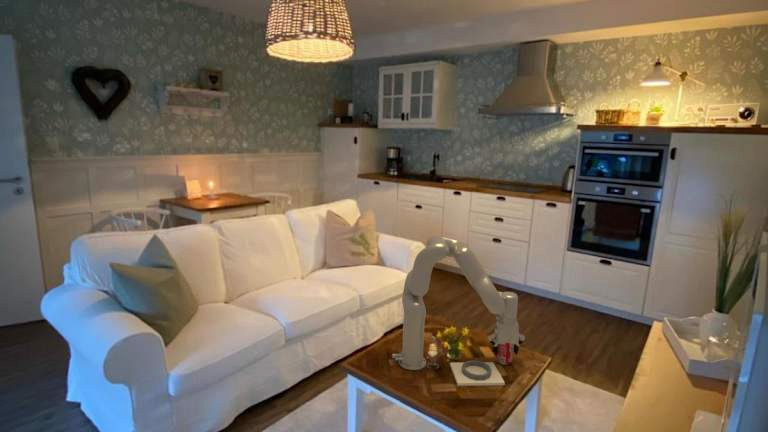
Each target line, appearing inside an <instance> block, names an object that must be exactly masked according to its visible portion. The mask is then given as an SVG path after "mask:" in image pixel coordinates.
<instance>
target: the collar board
mask: <svg viewBox="0 0 768 432" xmlns="http://www.w3.org/2000/svg"><path fill="white" fill-rule="evenodd" d="M449 366H450V370H451V372H452V374H453V378H454V380H455V382H456V384H457V386H458V387H460V386H461V387H463V386H469V387H470V386H472V387H474V386H476V387H477V386H479V387H480V386H482V387H483V386H505V381H504V378H503V376H502V375H501V373H500V372H499V370H498V369H497V367H496V365H495V363H494V362H493V361H485V362H484V361H481V360H480V361H479V360H473V359H472V360H467V361H463V362H449Z"/></svg>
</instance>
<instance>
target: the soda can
mask: <svg viewBox="0 0 768 432" xmlns="http://www.w3.org/2000/svg"><path fill="white" fill-rule="evenodd" d="M507 342H509V341H507ZM513 355H514V344H511V343H505V344H498V345H497V355H496V361H497V362H498V363H499V364H501V365H502V366H508V365H511V364H512V362H513Z"/></svg>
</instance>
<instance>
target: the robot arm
mask: <svg viewBox="0 0 768 432" xmlns="http://www.w3.org/2000/svg"><path fill="white" fill-rule="evenodd" d="M446 258H453V259H454V261H455V262H456V264H457V266H458V267H459V268H460V270H461V272H462V273H463V275H464V276H465V279H466V280H467V281H468V282H469V284H470V285H471V287H472V288H473V289H474V290H475V292H477V294H478V296H479V297H480V299H481V300H482V301H481V302H482V303H483V304H484V305H485V307H486V308H487V310H488V311H489V312H490V313H491V314H492V315H496V316H495V318H496V319H495V320H497V321H496V326H495V328H494V329H495V330H494V333H492V334H490V335H487V339H488V341H489V343H490V344H491V345H492V353H493V354H494V355H495V356H497V345H498V344H505V343H511V344H513V354H515V355H516V356H517V355H518V353H519V348H520V346H521V345H522V344H523V343H524V340H525V339H526V337H525V335H523V334H521V333H520V330H519V329H520V327H519V323H518V321H517V315H518V303H519V302H518V301H519V297H518V294H517V293H515V292H511V291H499V290H497V288H496V287H495V285H494V283H493V282H492V281H491V279H490V277H489V276H488V274H487V272H486V271H485V269H484V267H483V266H482V264H481V262H480V261H479V259H478V258H477V256H476V255H475V254H474V251H473V250H472V248H471V247H470V246H469V245H468V244H466V242H463V241H460V240H457V239H453V238H448V237H444V236H441V235H433V236H430V237H429V238H428V239H427V241H426V247H424V248H423V249H422V250H420V251H419V252H418V254H417V255H416V257H415V259H414V262H413V266H412V269H411V270H410V271H409V272H408V273H407V274H406V277H405V282H404V286H403V291H402V296H401V297H402V298H401V301H402V307H403V322H402V323H403V325H402V350H401V352H399V353H392V355H391V358H392V359H394V360H395V361H398V365H400V367H402V368H403V369H405V370H410V371H418V370H422V369H424V368H425V367H426V365H427V360H426V358H425V357H424V343H425V342H424V341H425V322H426V321H425V320H426V314H427V309H426V304H425V302H424V300H423V296H425V295H426V294H427V293H428V291H429V287H430V282H431V278H432V277H431V276H432V272H433V269H434V266H435V265H436V263H438V262H439V261H442V260H444V259H446ZM493 339H494V340H493ZM507 341H509V342H507Z"/></svg>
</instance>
